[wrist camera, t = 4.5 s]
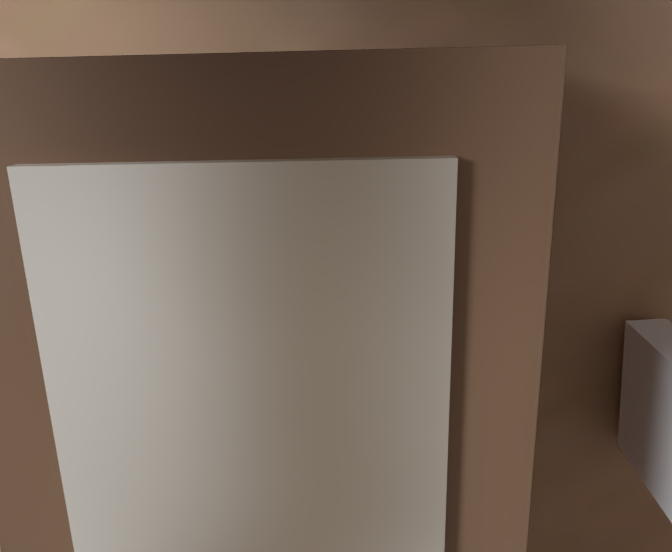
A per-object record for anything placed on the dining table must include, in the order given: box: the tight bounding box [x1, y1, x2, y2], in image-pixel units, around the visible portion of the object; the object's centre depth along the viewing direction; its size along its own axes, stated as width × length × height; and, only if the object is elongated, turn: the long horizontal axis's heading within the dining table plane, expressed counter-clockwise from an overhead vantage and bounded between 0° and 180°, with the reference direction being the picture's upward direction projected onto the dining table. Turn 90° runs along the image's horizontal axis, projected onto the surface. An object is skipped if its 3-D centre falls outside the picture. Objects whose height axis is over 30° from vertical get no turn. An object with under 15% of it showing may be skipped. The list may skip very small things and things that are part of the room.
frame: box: [0, 45, 567, 552], centre depth 11 cm, size 7×13×5 cm, turn 1°
